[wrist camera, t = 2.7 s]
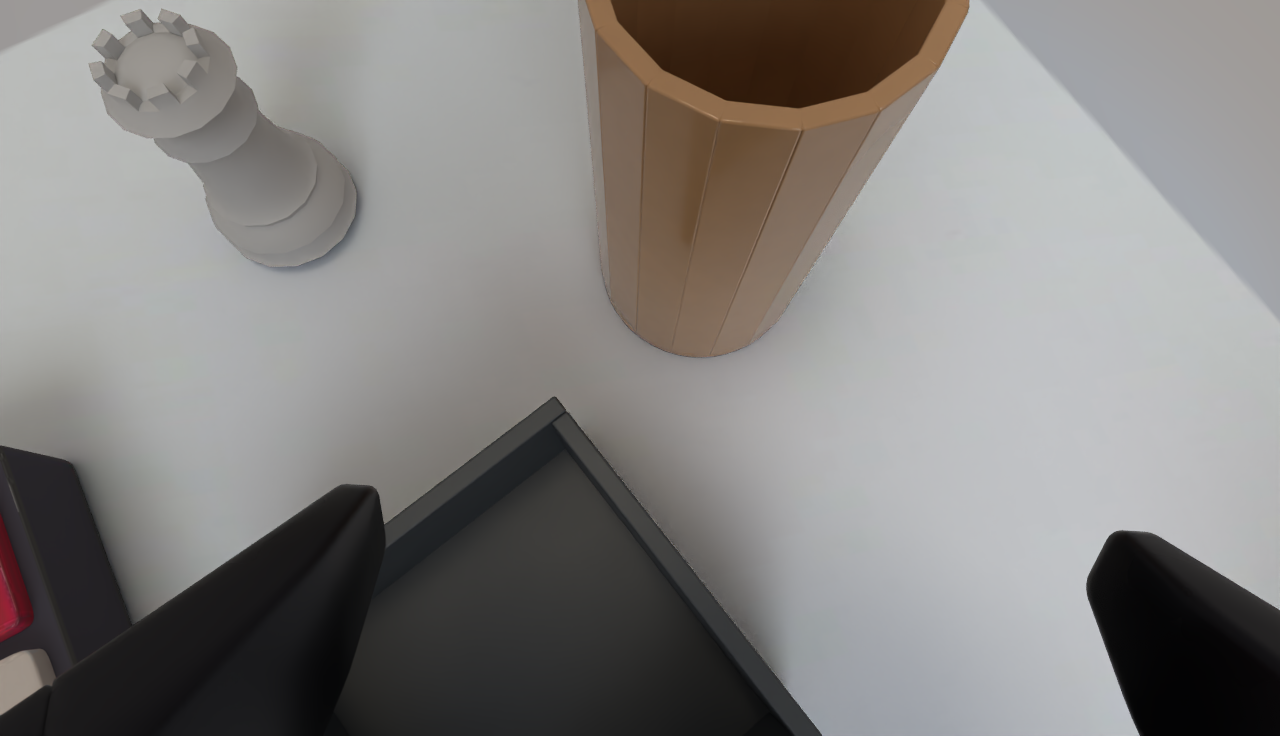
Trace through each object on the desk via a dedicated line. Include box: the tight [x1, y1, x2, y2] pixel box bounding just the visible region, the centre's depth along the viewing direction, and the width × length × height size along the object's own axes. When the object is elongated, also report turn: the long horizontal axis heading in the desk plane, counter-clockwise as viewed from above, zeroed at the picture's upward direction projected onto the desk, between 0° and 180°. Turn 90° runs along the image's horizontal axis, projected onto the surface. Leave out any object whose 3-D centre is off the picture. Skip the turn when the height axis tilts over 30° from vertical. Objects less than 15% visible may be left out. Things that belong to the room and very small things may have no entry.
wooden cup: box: [578, 0, 969, 357], centre depth 18 cm, size 6×6×13 cm
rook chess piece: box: [88, 9, 357, 267], centre depth 21 cm, size 4×4×8 cm
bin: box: [324, 397, 822, 736], centre depth 19 cm, size 10×10×5 cm
